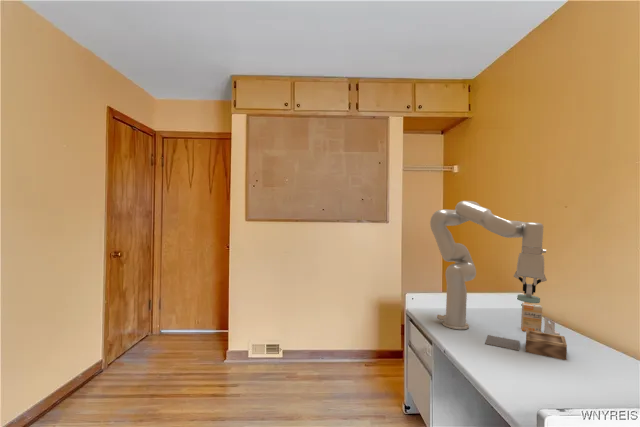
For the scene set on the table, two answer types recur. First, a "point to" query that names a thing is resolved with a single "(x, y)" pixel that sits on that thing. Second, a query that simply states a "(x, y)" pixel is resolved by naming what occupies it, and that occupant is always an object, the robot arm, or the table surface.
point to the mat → (502, 342)
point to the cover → (528, 296)
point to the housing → (546, 344)
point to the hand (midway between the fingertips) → (528, 293)
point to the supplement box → (531, 317)
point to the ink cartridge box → (550, 327)
